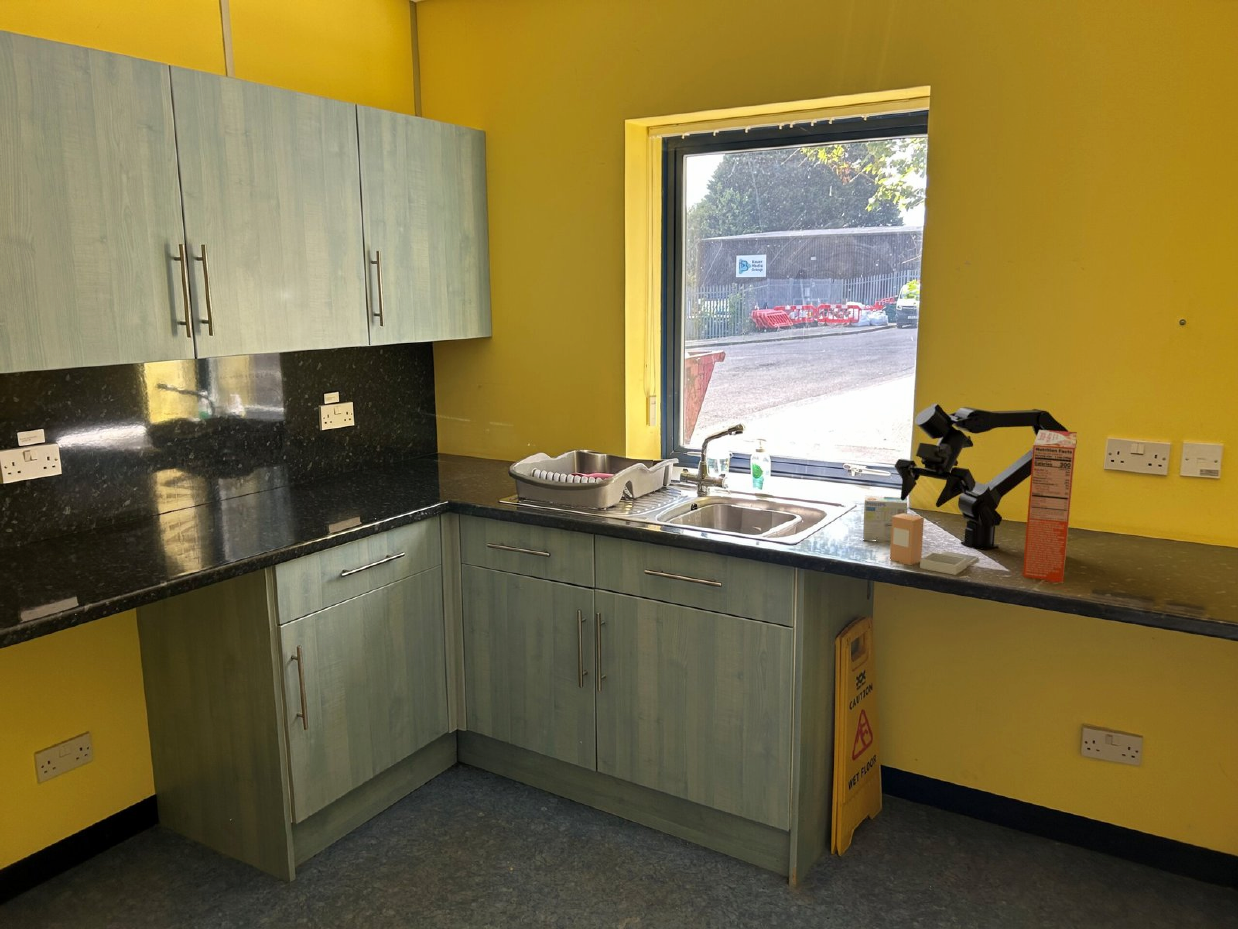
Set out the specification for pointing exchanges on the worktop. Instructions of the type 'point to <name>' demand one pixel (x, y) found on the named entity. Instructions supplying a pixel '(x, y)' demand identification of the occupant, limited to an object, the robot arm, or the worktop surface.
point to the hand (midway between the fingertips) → (919, 502)
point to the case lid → (969, 558)
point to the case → (943, 563)
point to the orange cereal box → (1049, 505)
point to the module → (906, 538)
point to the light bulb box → (881, 516)
